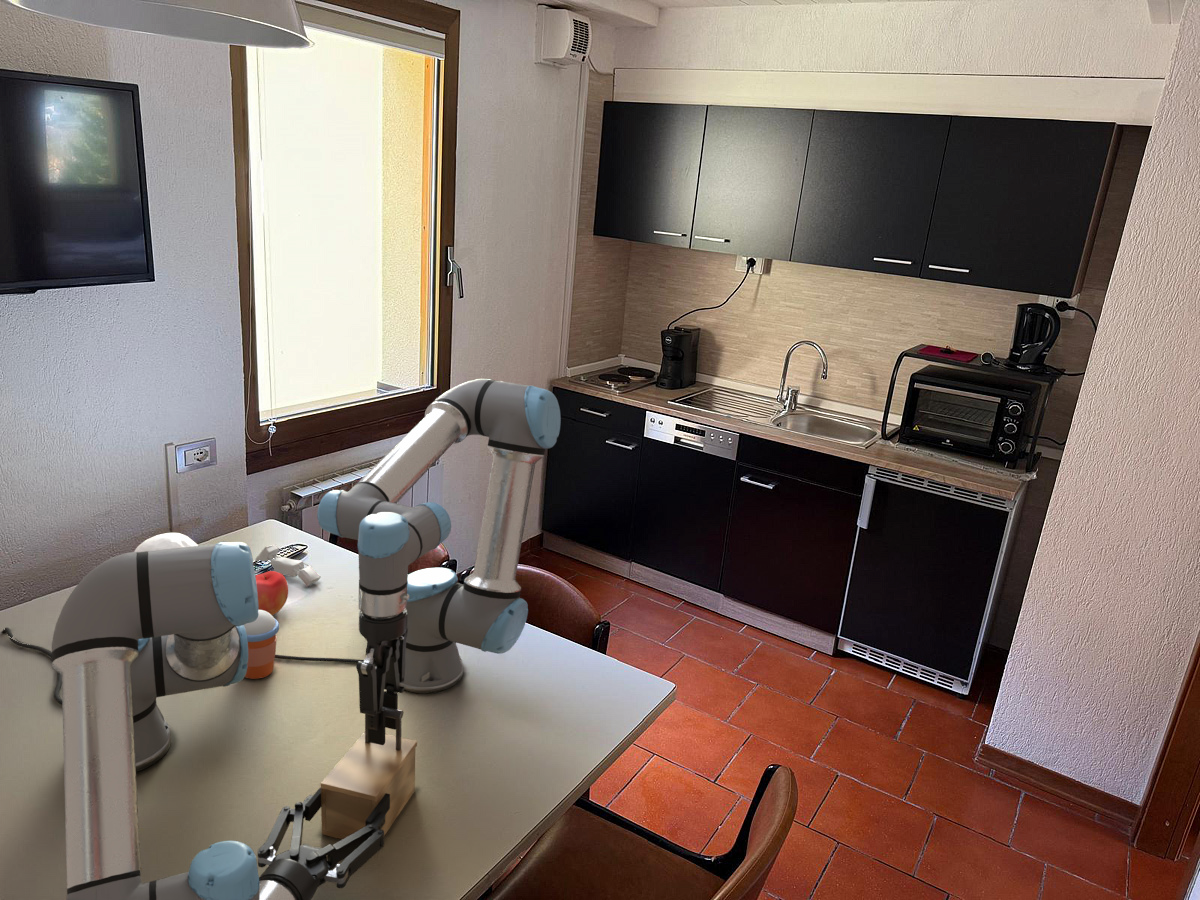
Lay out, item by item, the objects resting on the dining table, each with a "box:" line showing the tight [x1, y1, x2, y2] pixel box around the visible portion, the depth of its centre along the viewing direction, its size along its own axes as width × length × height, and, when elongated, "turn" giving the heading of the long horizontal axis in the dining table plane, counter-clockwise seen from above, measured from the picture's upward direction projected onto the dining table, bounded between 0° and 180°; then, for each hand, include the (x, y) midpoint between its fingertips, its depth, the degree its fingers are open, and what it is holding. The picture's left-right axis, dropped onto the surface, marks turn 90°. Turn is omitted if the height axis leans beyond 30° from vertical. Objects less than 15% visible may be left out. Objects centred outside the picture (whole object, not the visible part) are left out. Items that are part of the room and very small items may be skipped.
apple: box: [255, 570, 289, 617], centre depth 199 cm, size 10×10×10 cm
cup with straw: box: [244, 610, 280, 680], centre depth 176 cm, size 9×9×18 cm
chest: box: [320, 748, 416, 840], centre depth 141 cm, size 14×10×9 cm
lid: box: [320, 706, 418, 801], centre depth 139 cm, size 15×10×8 cm, turn 167°
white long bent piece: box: [254, 544, 322, 587], centre depth 219 cm, size 20×4×7 cm, turn 62°
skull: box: [133, 532, 199, 552], centre depth 203 cm, size 13×22×16 cm, turn 73°
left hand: (358, 793), depth 137 cm, fingers closed on chest, 9 cm apart
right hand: (383, 734), depth 143 cm, fingers open, 4 cm apart
